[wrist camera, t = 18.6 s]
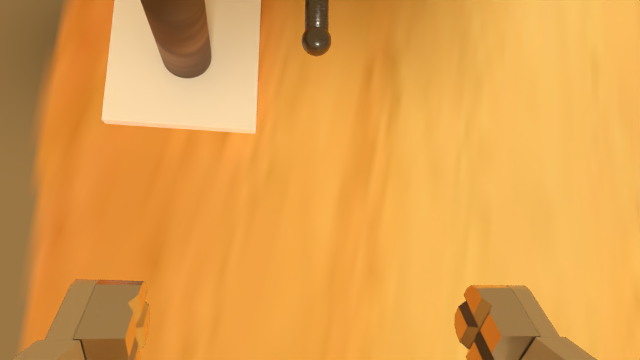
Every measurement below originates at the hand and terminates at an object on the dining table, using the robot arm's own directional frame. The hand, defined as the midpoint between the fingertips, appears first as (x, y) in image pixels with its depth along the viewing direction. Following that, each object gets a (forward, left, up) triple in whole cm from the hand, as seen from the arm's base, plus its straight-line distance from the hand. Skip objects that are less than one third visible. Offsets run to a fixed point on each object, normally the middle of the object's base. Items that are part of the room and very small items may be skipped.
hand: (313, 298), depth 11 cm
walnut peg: (+7, -18, -24) cm, 31 cm away
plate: (+7, -18, -25) cm, 32 cm away
